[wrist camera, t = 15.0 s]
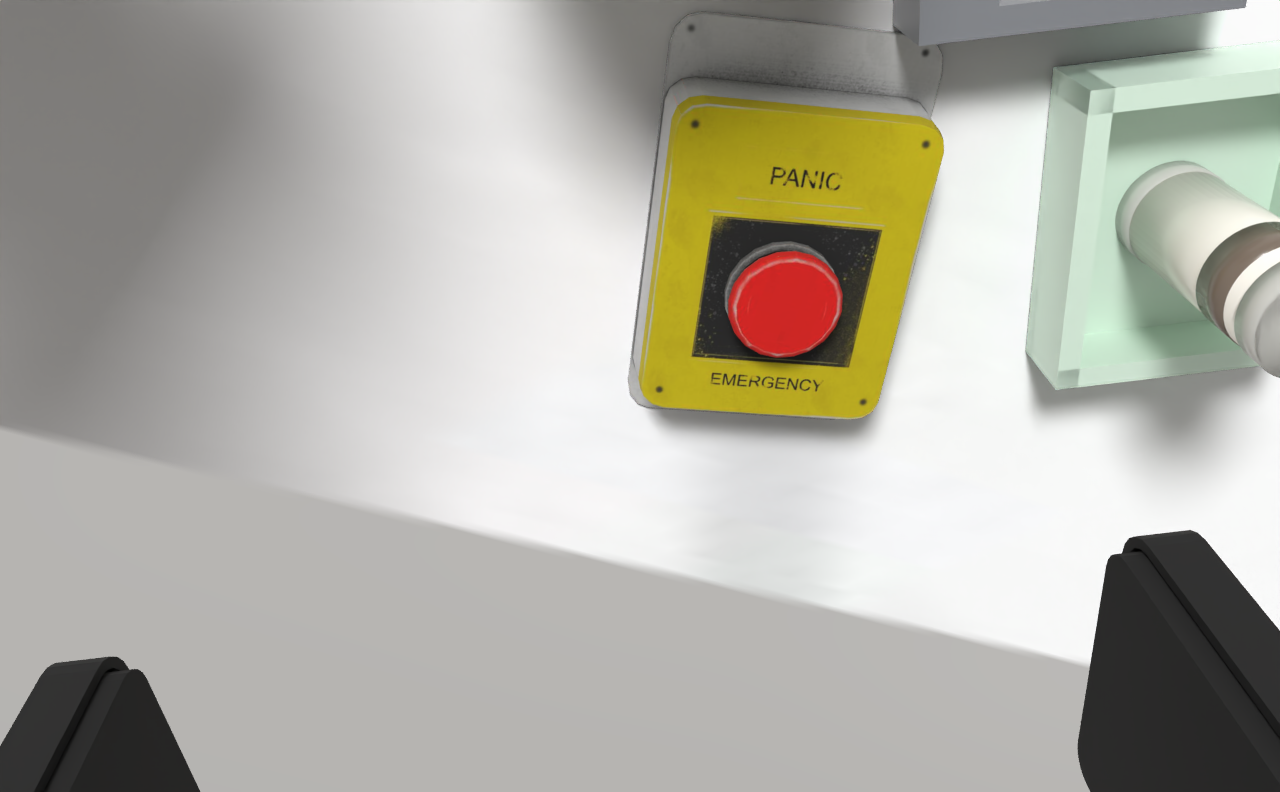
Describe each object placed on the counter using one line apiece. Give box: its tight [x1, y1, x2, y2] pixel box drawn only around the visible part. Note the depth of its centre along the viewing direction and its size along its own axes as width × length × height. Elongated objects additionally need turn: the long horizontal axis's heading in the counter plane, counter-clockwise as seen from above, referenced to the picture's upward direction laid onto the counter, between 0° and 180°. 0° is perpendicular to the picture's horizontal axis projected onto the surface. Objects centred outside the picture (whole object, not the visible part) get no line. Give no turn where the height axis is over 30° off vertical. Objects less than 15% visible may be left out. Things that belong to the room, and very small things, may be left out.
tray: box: [1026, 40, 1280, 390], centre depth 38 cm, size 11×9×3 cm
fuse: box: [1115, 161, 1280, 378], centre depth 34 cm, size 4×4×9 cm
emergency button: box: [628, 11, 944, 420], centre depth 37 cm, size 9×4×15 cm
